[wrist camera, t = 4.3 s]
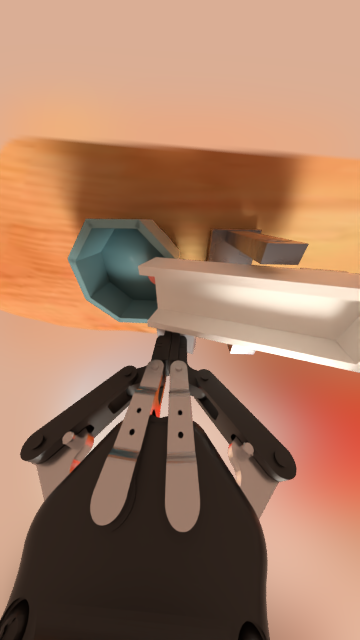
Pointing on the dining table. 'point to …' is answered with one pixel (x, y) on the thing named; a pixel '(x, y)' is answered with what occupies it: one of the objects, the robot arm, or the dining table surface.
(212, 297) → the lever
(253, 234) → the lever stand
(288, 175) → the dining table surface
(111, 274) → the teal octagonal bowl
